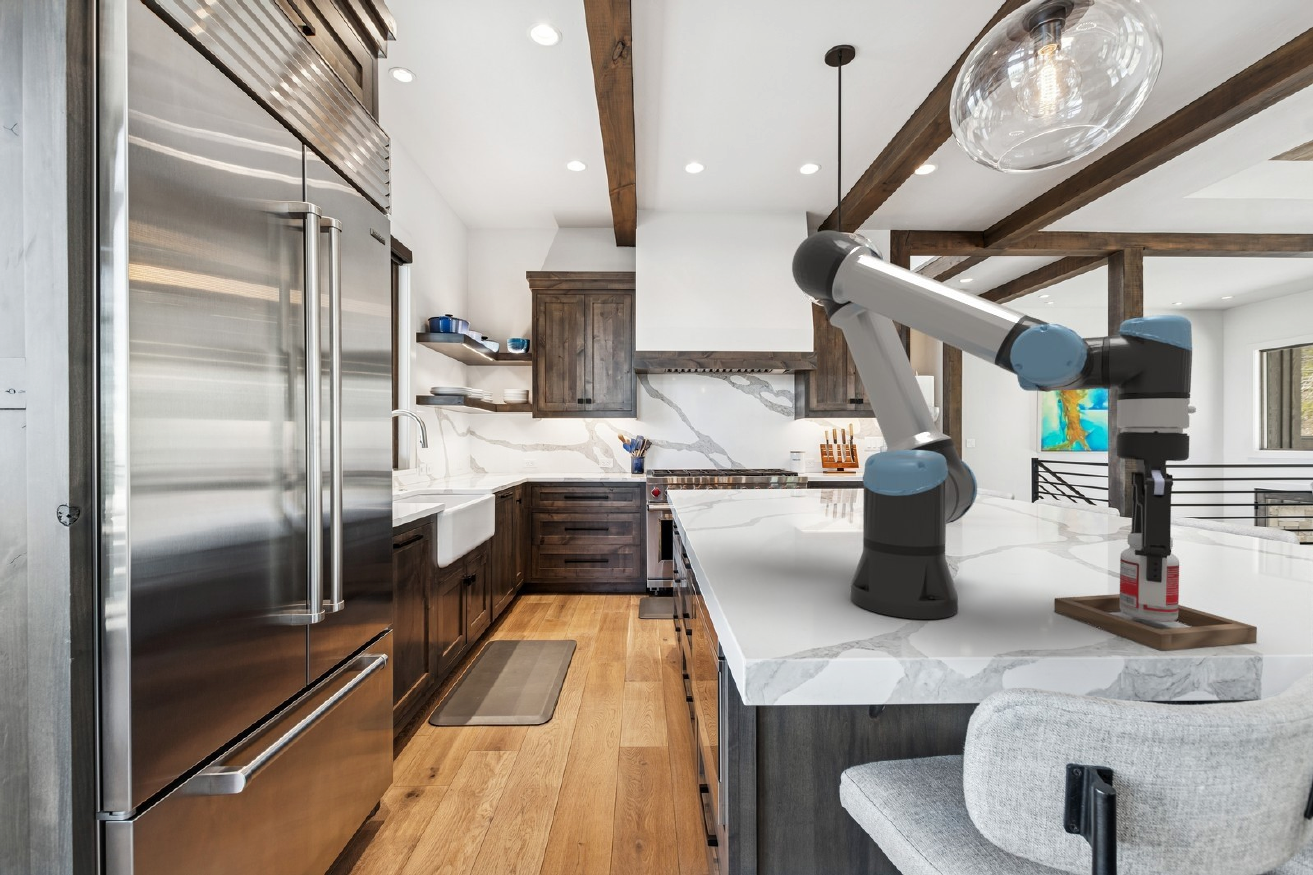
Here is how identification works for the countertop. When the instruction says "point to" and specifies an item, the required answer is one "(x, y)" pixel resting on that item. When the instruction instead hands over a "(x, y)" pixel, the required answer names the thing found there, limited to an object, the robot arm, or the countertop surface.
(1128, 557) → the pill bottle
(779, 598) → the countertop surface
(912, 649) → the countertop surface
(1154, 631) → the brown wooden square frame
